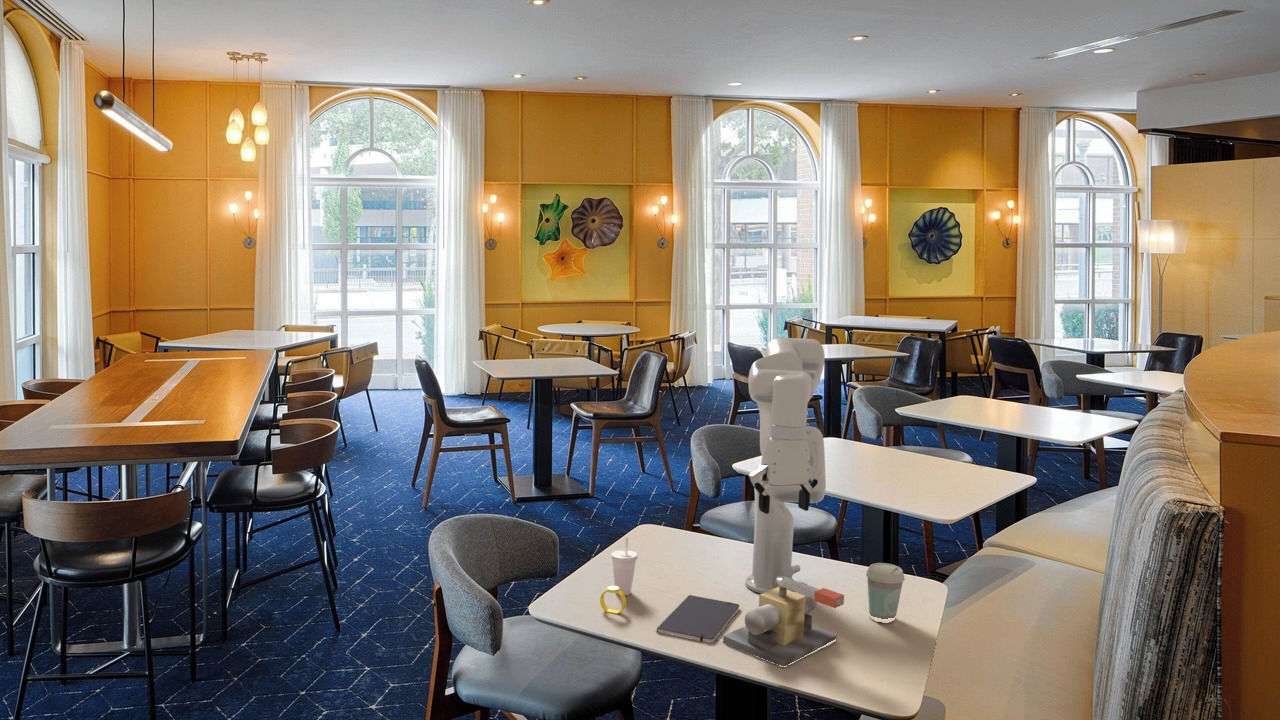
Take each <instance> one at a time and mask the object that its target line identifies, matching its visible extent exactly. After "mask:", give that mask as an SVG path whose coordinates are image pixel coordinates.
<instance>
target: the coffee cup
mask: <svg viewBox="0 0 1280 720" xmlns="http://www.w3.org/2000/svg"><path fill="white" fill-rule="evenodd" d="M866 577H867V595H868V598H867V599H868V613H870V615H871V616H873V617H877V618H881V619H888V618H894V617H895V616H896V617H897V613H898V608H899V603H900V597H901V593H902V588H903V582H904V581H905V579H906V578H905V575H904V572H903V569H902V567H900V566H897V565H895V564H892V563H886V562H877V563H875V562H874V563H872V564H870V565H869V567H868V569H867V571H866Z"/></svg>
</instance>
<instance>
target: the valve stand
mask: <svg viewBox="0 0 1280 720" xmlns="http://www.w3.org/2000/svg"><path fill="white" fill-rule="evenodd" d="M758 596H759V597H758V598H759V599H758V600H759V601H758V607H757V608H754V609H752V610H750V611H749V610H748V612H747V613H745V616H744V624H745V625H744V626H743V627H740V628H738V629H736V630H733V631H731V632H728V633H726V634H724V635H723V637H722V639H723V640H722V643H724V644H726V645H728V644H729V645H728V646H731V647H733V648H735V647H736V649H738V650H740V649H741V650H740V651H742V650H743V651H742V652H745V653H747V654H749V655H751V654H752V656H754V655H755V656H754V657H756V656H758V657H760V658H759V659H761V658H763V659H765V660H768V661H770V662H773V663H775V664H778V665H781V666H786V665H788V664H790V663H792V662H794V661H796V660H798V659H800V658H802V657H804V656H805V655H807V654H809V653H811V652H813V651H815V650H817V649H818V648H820V647H822V646H824V645H826V644H827V643H829V642H831V641H833V640H835V639H836V640H837V634H836V633H835V634H834V633H833V632H829V631H827V630H824V629H822V628H819V627H816V626H814V625H813V615H812V614H811V615H810V614H809V613H810V612H813V611H814V610H815V609H816V608H817V605H818V602H816V601H814V598H812V597H809V596H807V595H804V594H801V593H798V592H795V591H794V592H793V591H790V590H787V588H782V587H777V588H775V589H772V590H770V591H767V592H765V593H759V595H758ZM758 657H757V658H758ZM763 659H762V660H763ZM765 660H764V661H765ZM768 661H767V662H768ZM770 662H769V663H770ZM775 664H774V665H775Z"/></svg>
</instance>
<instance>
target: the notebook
mask: <svg viewBox="0 0 1280 720" xmlns="http://www.w3.org/2000/svg"><path fill="white" fill-rule="evenodd" d="M739 608H740V604H739V603H735V602H734V603H733V602H729V601H725V600H718V599H714V598H707V597H702V596H696V595H693V594H689V595H687V597H686V598H685V599H684V600H683V601H682V602H681V603H679V605H678V606H677V607H676V608H675V609H674V610H673V611H672V612H671V613H670V614H669V615H668V616H667V617H666V618H665V619H664V620H663V621H662V622H661V623H660V624H659V626H658V627H657V628H656V633H659V632H661V634H664V633H666V634H665V635H668V634H673V635H675V636H674V637H678V636H679V638H683V637H684V638H683V639H688V638H691V639H690V640H693V639H695V640H694V641H698V640H699V641H698V642H701V643H703V642H704V643H707V644H708V643H709V644H710V643H711V642H712V643H714V641H715V640H716V639H717V638H718V636H719V635H720V634H721V633H722V632H723V630H724V627H725V628H726V626H727V625H728V624H729V623H728V622H730V621H731V620H732V619H733V618H734V616H736V614H735V613H738V611H739V610H738V609H739ZM731 618H732V619H731ZM727 623H728V624H727ZM720 632H721V633H720ZM719 633H720V634H719ZM673 635H672V636H673ZM676 635H677V636H676ZM685 637H686V638H685ZM716 637H717V638H716ZM702 641H703V642H702ZM712 643H711V644H712Z"/></svg>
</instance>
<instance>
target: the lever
mask: <svg viewBox="0 0 1280 720" xmlns="http://www.w3.org/2000/svg"><path fill="white" fill-rule="evenodd" d="M776 585H777V586H778V587H782V588H787V589H790V590H792V591H794V592H798V593H801V594H804V595H807V596H809V597H812V598H814V601H816V602H817V604H822V605H825V606H827V607H830V608H832V609H837V608H839V607H840V606H843V605H844V603H845V594H842V593H839V592H837V591H834V590H831V589H828V588H825V587H822V588H820V589H819V588H817V587H814V586H812V585H809V584H806V583H802V582H800V581H796V580H794V579H793V580H791V579H790V578H789V577H785V576H779V577H777V578H776Z"/></svg>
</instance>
